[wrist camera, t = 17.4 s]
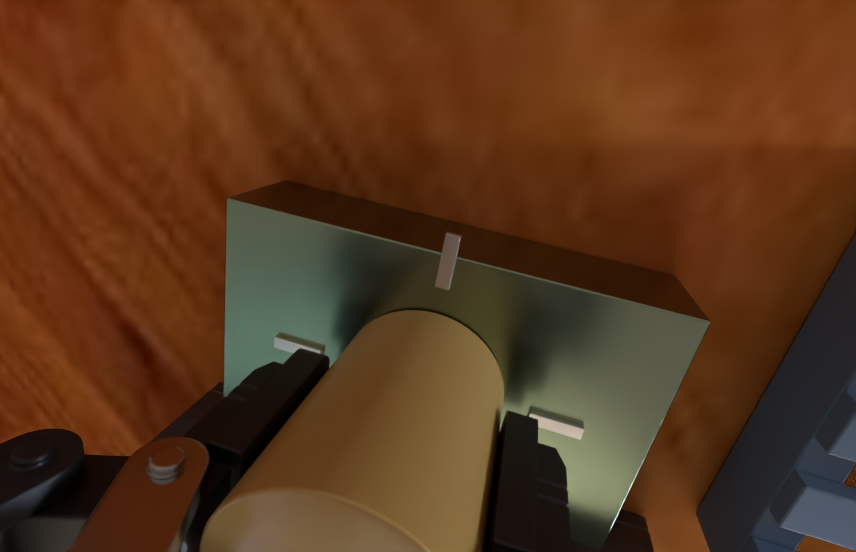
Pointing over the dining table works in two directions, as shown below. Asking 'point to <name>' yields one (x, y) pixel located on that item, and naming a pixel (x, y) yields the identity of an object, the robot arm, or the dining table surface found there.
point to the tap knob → (378, 450)
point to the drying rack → (797, 440)
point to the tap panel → (471, 320)
